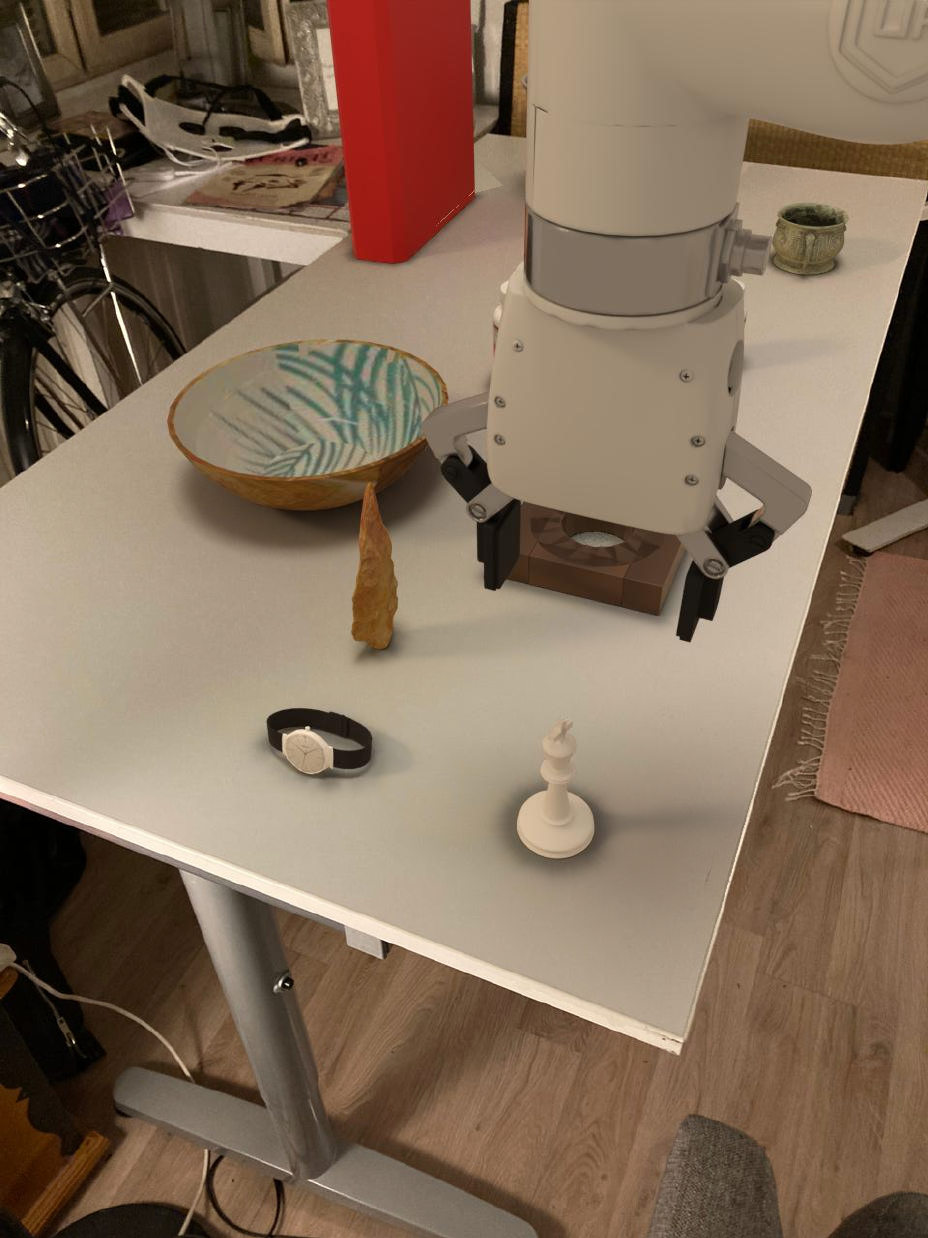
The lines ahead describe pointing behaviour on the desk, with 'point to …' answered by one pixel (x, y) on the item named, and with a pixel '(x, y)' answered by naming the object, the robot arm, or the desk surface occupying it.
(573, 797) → the chess piece
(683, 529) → the robot arm
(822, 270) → the vessel
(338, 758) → the watch
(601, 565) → the socket plate
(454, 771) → the desk surface
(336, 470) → the bowl
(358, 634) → the stone tool
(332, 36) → the book
